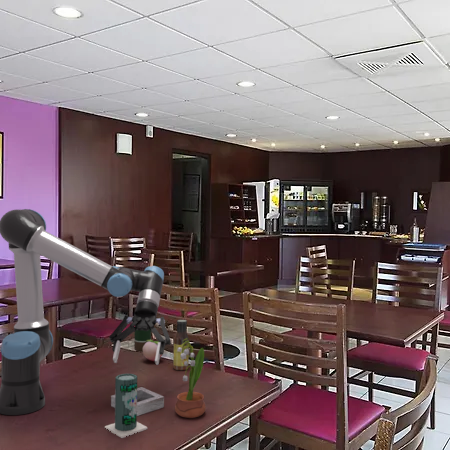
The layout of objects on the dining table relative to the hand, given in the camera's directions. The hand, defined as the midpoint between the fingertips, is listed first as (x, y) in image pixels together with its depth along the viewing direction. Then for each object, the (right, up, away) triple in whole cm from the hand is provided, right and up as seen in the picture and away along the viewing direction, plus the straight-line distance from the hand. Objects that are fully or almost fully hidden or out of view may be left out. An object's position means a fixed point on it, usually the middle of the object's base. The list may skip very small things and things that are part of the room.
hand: (135, 361), depth 163 cm
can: (-1, -17, -10) cm, 20 cm away
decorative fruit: (-3, -15, +57) cm, 59 cm away
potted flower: (+17, -18, +1) cm, 24 cm away
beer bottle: (-10, -15, +75) cm, 77 cm away
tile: (-1, -17, -10) cm, 20 cm away
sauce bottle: (+10, -16, +48) cm, 52 cm away
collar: (-1, -17, +7) cm, 18 cm away
